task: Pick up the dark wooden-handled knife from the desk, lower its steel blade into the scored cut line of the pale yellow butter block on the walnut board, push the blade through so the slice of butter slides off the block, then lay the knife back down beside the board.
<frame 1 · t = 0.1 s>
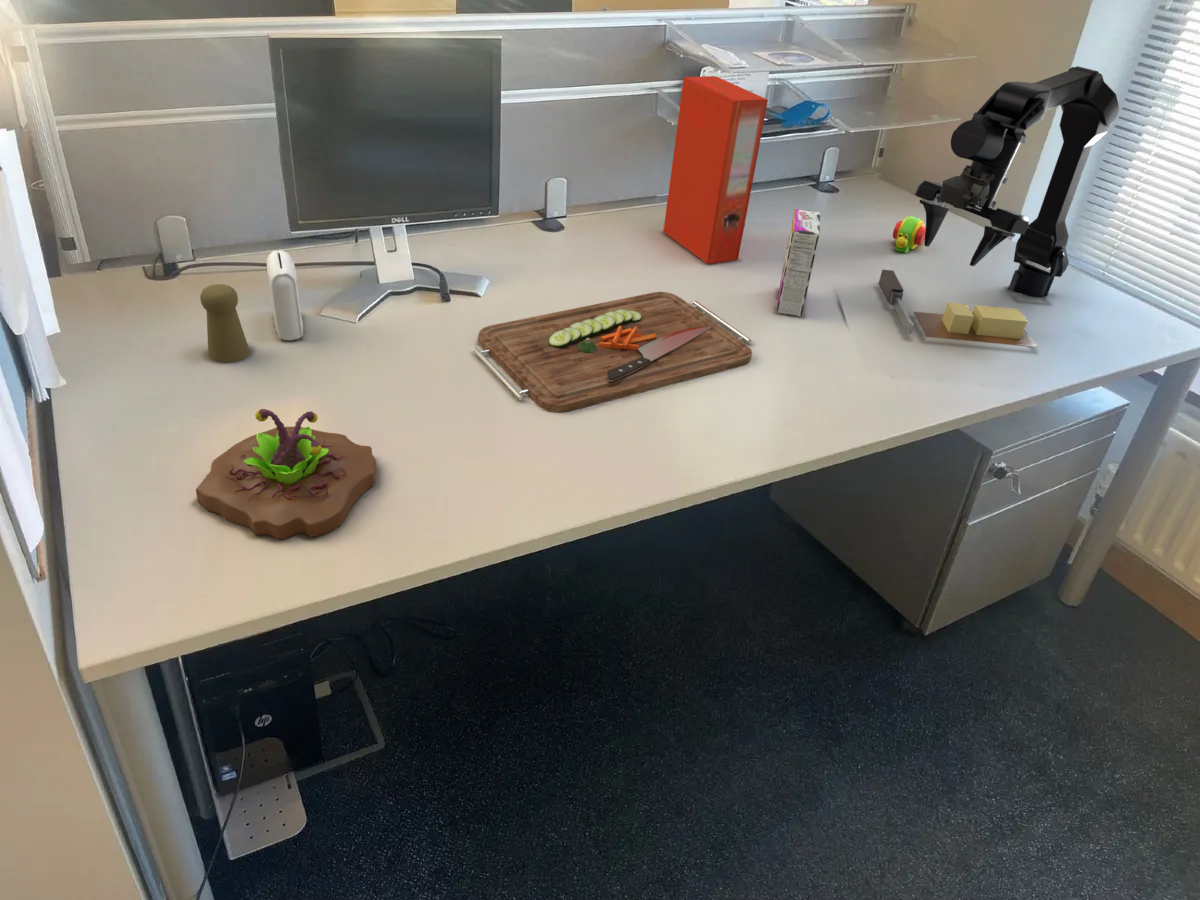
hand: (948, 255, 155), 15 cm above the table, tool pointing down, fingers open, 9 cm apart
toy measuring tape: (911, 242, 202), on the table
plant: (290, 486, 115), on the table
butter board: (971, 334, 166), on the table
photo printer: (289, 327, 148), on the table
knife: (887, 298, 176), on the table
butter slice: (954, 326, 165), point 1 cm above the table, touching butter board
chopping board: (616, 349, 151), on the table
butter block: (994, 330, 165), point 1 cm above the table, touching butter board
candy bar box: (789, 304, 171), on the table
file binder: (700, 247, 190), on the table
olive brown pawn: (229, 353, 140), on the table
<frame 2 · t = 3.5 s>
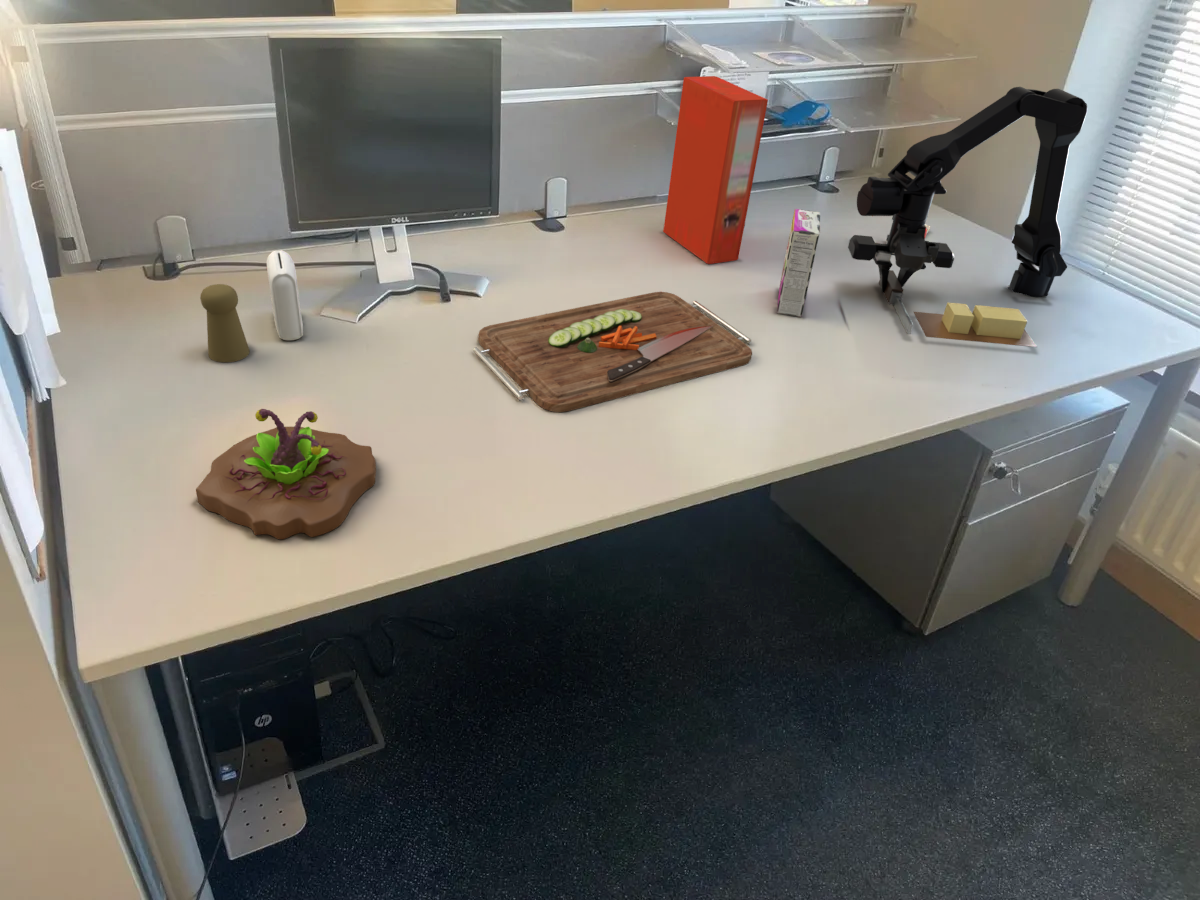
hand: (888, 292, 175), 1 cm above the table, tool pointing down, fingers closed on knife, 2 cm apart
knife: (887, 298, 176), on the table, touching gripper
everything else where it was.
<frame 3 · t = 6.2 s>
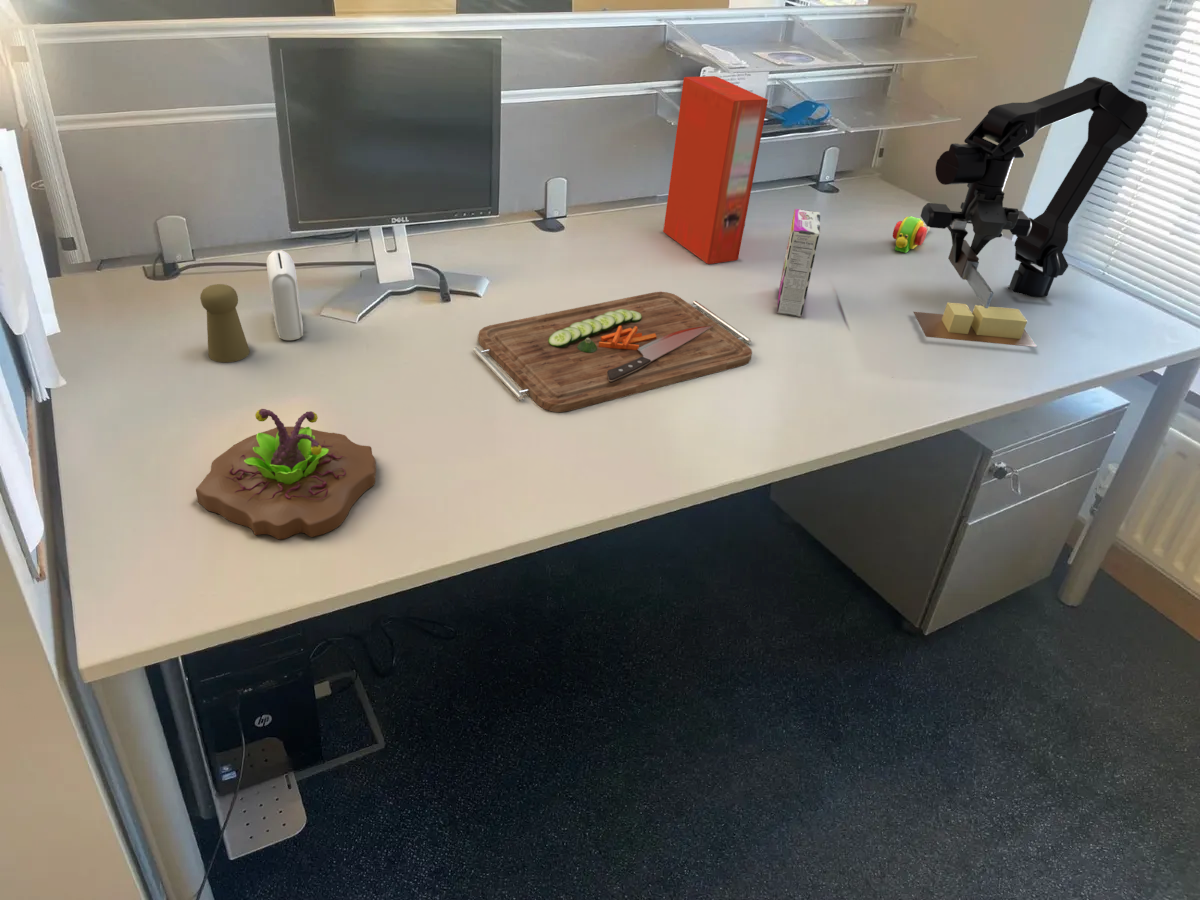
hand: (961, 262, 171), 9 cm above the table, tool pointing down, fingers closed on knife, 2 cm apart
knife: (960, 268, 171), point 7 cm above the table, touching gripper
everything else where it was.
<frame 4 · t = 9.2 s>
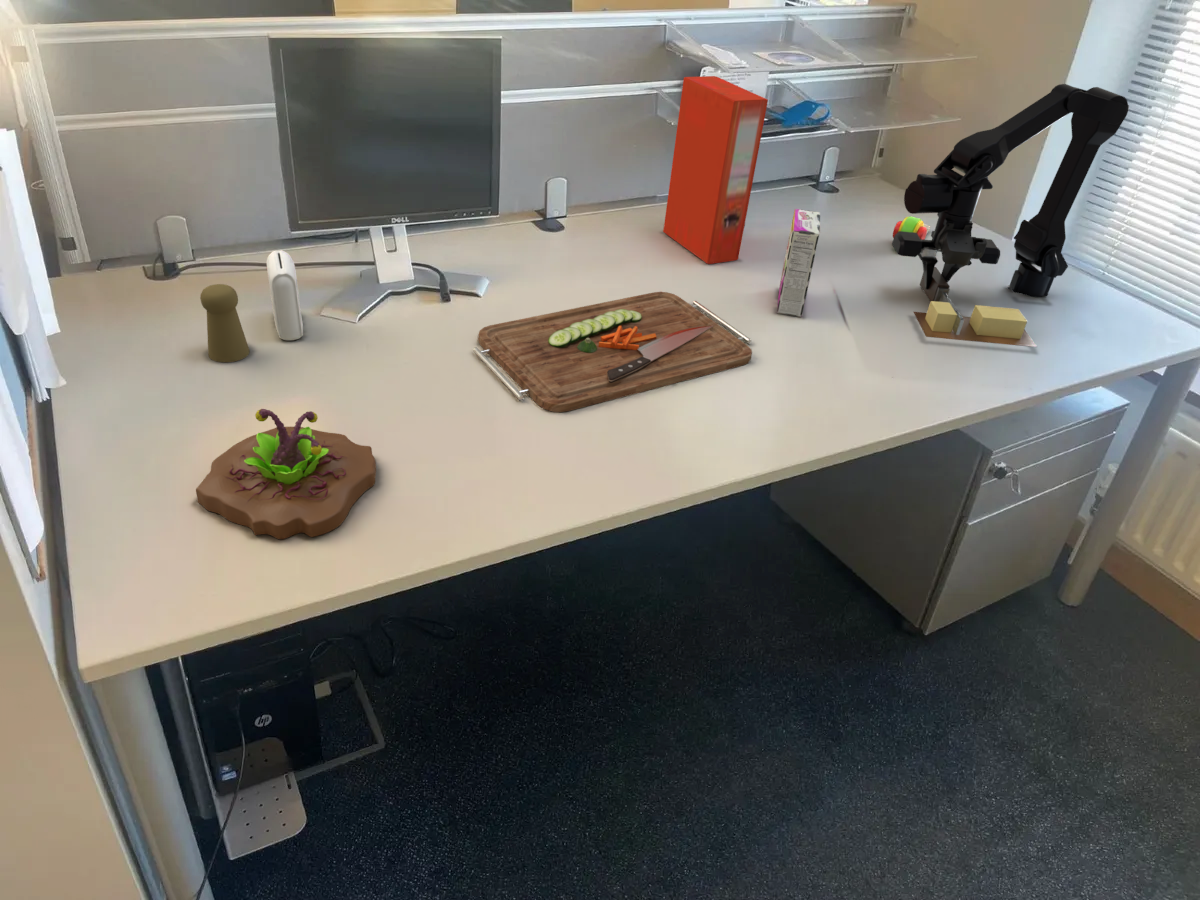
hand: (932, 289, 174), 3 cm above the table, tool pointing down, fingers closed on knife, 2 cm apart
knife: (931, 294, 175), point 2 cm above the table, touching butter slice, gripper
butter slice: (937, 325, 165), point 1 cm above the table, touching butter board, knife
everything else where it was.
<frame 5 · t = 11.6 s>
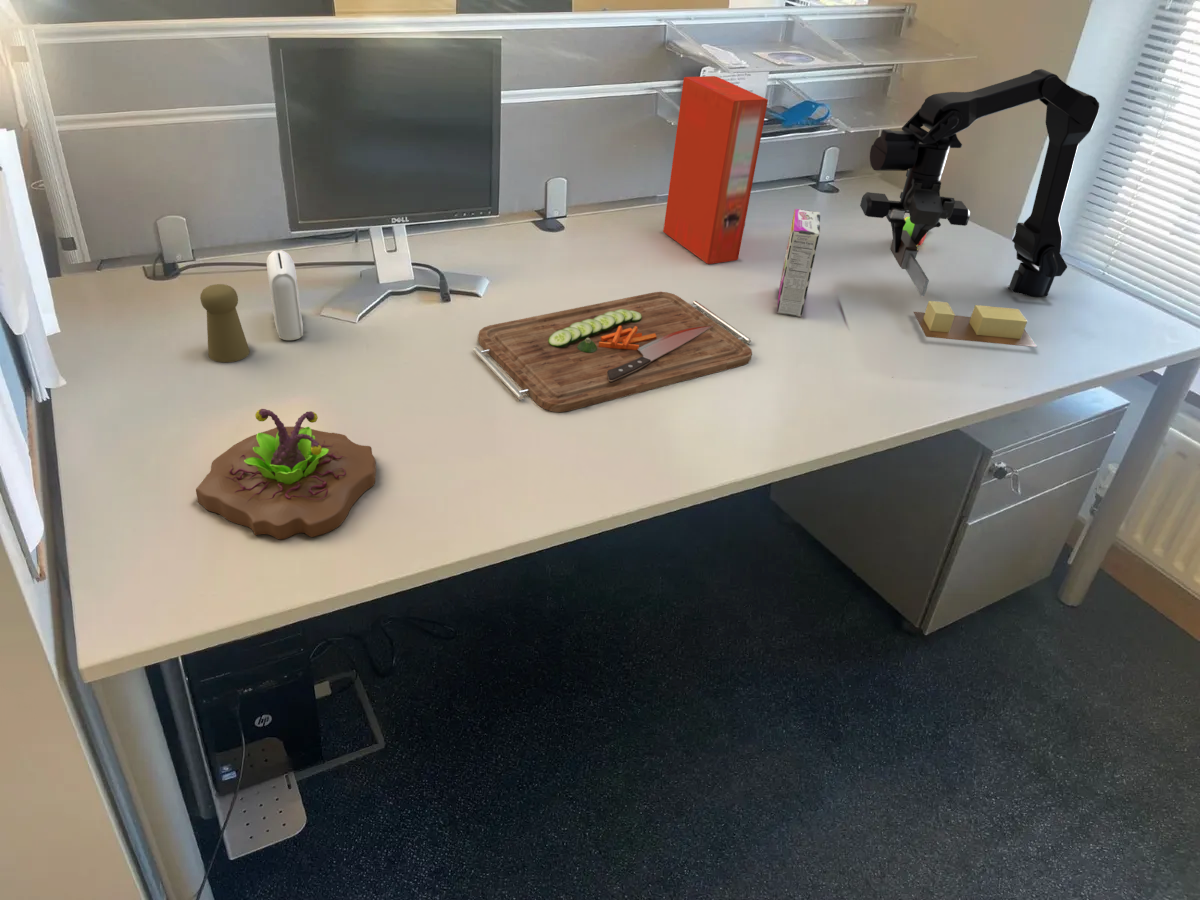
hand: (902, 252, 170), 10 cm above the table, tool pointing down, fingers closed on knife, 2 cm apart
knife: (900, 258, 171), point 8 cm above the table, touching gripper
butter slice: (935, 325, 165), point 1 cm above the table, touching butter board
everything else where it was.
when the fingers open (1 cm above the table, at t = 13.6 s): knife stays where it is, on the table.
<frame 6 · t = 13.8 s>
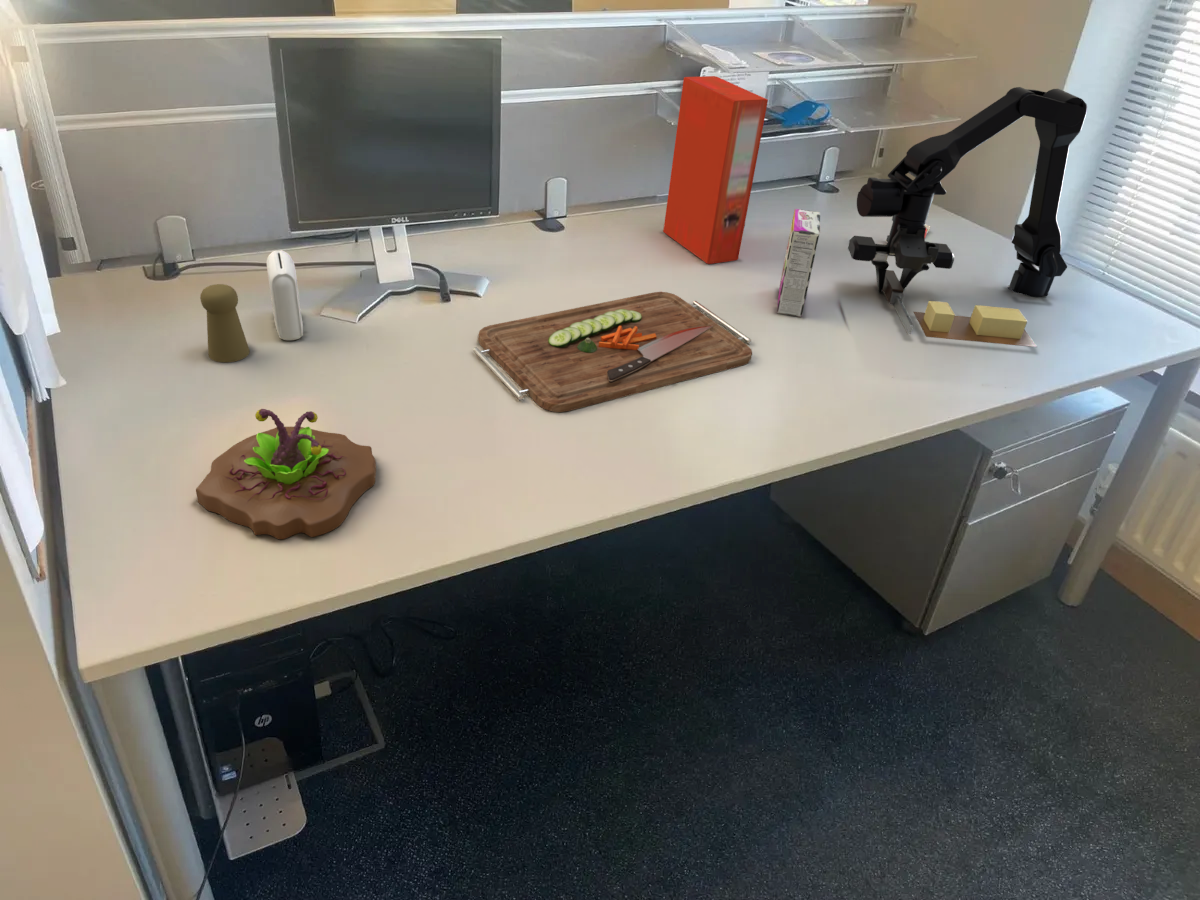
hand: (888, 293, 175), 1 cm above the table, tool pointing down, fingers open, 3 cm apart
knife: (887, 298, 176), on the table
everything else where it was.
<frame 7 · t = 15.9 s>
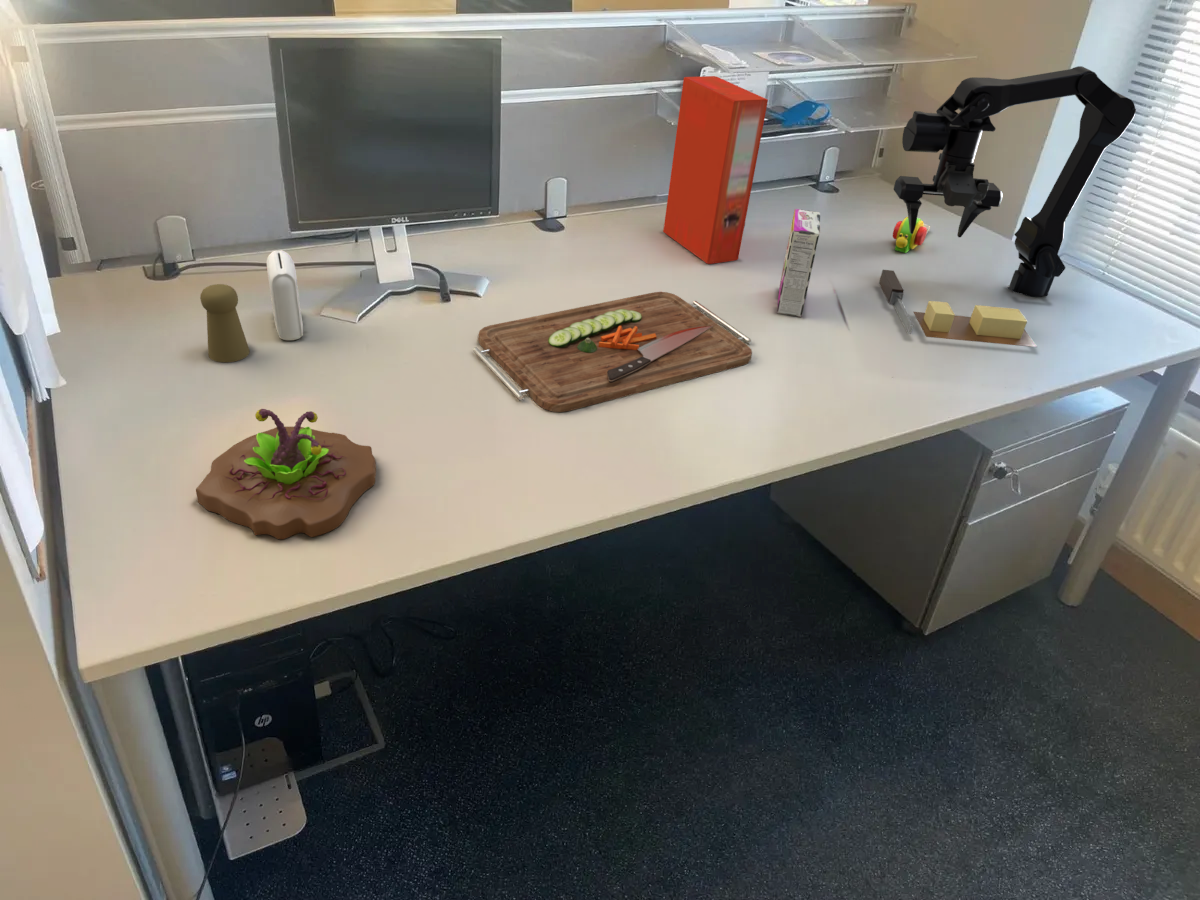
hand: (935, 234, 173), 12 cm above the table, tool pointing down, fingers open, 9 cm apart
nothing on the table moved.
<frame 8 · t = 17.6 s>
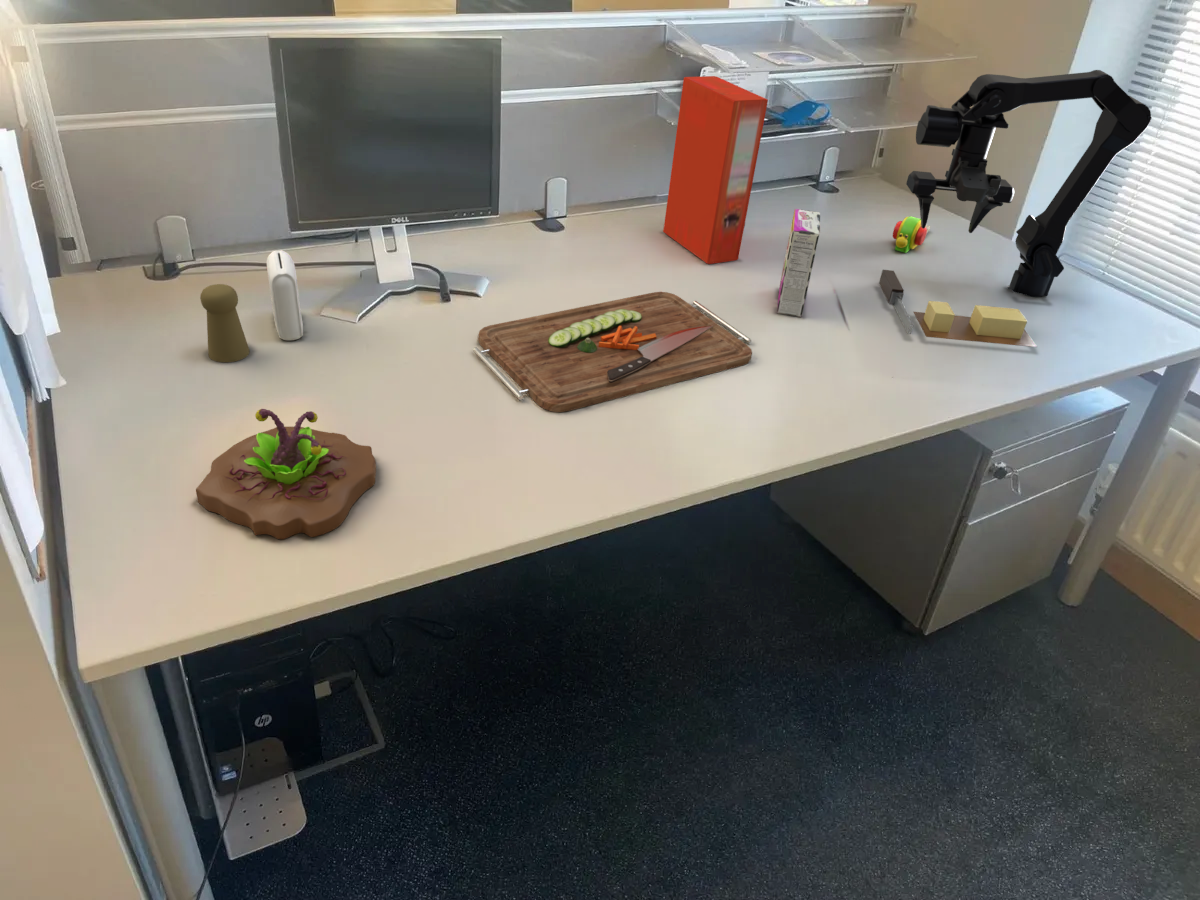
hand: (946, 230, 175), 12 cm above the table, tool pointing down, fingers open, 9 cm apart
nothing on the table moved.
at the end: butter slice moved 3.4 cm from its start; butter block moved 0.0 cm from its start; knife 0.1 cm from the target spot, on the table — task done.
